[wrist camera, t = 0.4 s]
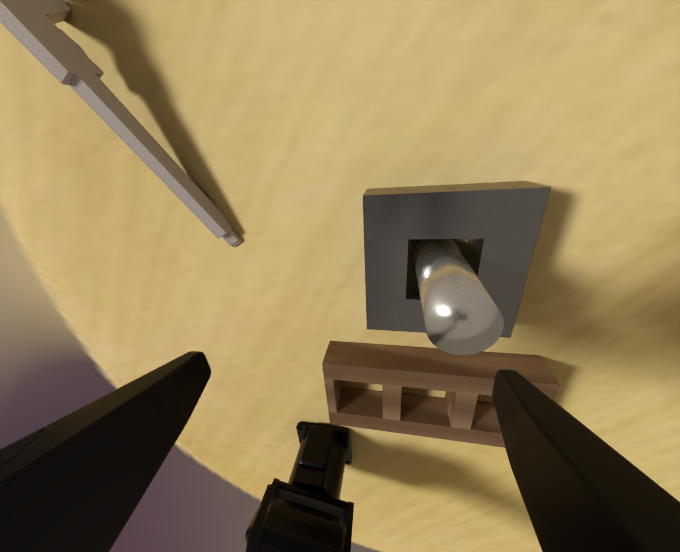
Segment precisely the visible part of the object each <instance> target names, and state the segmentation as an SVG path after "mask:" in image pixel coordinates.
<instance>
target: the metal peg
mask: <svg viewBox="0 0 680 552" xmlns="http://www.w3.org/2000/svg"><path fill="white" fill-rule="evenodd" d="M413 258H414V264H415V270H416V275H417V281H418V287H419V292H420V298H421V304H422V309H423V315H424V321H425V327H426V332H427V335H428V338H429V339H430V341H431V342H432V343H433V344H434V345H435V346H436V347H437V348H439V349H441V350H442V351H445V352H447V353H451V354H456V355H469V354H475V353H478V352H481V351H484V350H486V349H487V348H489V347H491V346H492V345H493V344H494V343H495V342H496V341H497V340H498V339H499V337H500V336H501V334H502V331H503V327H504V321H503V317H502V314H501V312H500V311H499V309H498V308H497V306H496V305H495V303H494V302H493V300H492V299H491V297H490V295H489V294H488V292H487V291H486V289H485V288H484V286H483V285H482V283H481V282H480V280H479V279H478V277H477V276H476V274H475V273H474V271H473V269H472V268H471V266H470V265H469V263H468V262H467V260H466V259H465V257H464V256H463V254H462V253H461V251H460V250H459V248H458V247H457V245H456V243H455V242H454V241H453V240H452V239H422V240H421V241H420V242H419V243H418V244H417V245H416V247H415V249H414V253H413Z"/></svg>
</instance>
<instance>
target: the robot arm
mask: <svg viewBox="0 0 680 552" xmlns="http://www.w3.org/2000/svg"><path fill="white" fill-rule="evenodd" d="M210 375H211V369H210V366H209V364H208V361H207V359H206V356H205V354H204V353H203V352H198V351H191V352H188V353H186V354H184V355H182V356H180V357H178V358H176V359H174V360H172V361H170V362H169V363H167V364H165V365H163V366H161V367H159V368H157V369H155V370H153V371H151V372H149V373H147V374H145V375H143V376H141V377H140V378H138V379H136V380H134V381H132V382H130V383H128V384H126V385H124V386H122V387H120V388H118V389H116V390H114V391H113V392H111V393H109V394H107V395H105V396H103V397H101V398H99V399H97V400H95V401H93V402H91V403H89V404H87V405H86V406H83V407H82V408H80V409H78V410H76V411H74V412H72V413H70V414H68V415H66V416H64V417H62V418H60V419H58V420H57V421H55V422H53V423H51V424H49V425H47V427H43V428H41V429H39V430H37V431H35V432H33V433H31V434H29V435H27V436H25V437H23V438H22V439H20V440H18V441H16V442H14V443H12V444H10V445H8V446H6V447H4V448H2V449H0V552H109V551H110V549H111V548H112V546H113V544H114V543H115V541H116V539H117V538H118V536H119V534H120V533H121V531H122V529H123V528H124V526H125V524H126V523H127V521H128V520H129V518H130V516H131V515H132V513H133V511H134V510H135V508H136V506H137V505H138V503H139V501H140V500H141V498H142V496H143V495H144V493H145V491H146V490H147V488H148V486H149V485H150V483H151V482H152V480H153V478H154V477H155V475H156V473H157V472H158V470H159V468H160V466H161V465H162V463H163V462H164V460H165V458H166V457H167V455H168V453H169V452H170V450H171V449H172V447H173V445H174V444H175V442H176V440H177V439H178V437H179V435H180V434H181V432H182V430H183V429H184V427H185V425H186V424H187V422H188V420H189V418H190V416H191V414H192V412H193V410H194V408H195V406H196V404H197V402H198V400H199V398H200V396H201V394H202V392H203V390H204V388H205V386H206V384H207V382H208V380H209V378H210ZM492 397H493V402H494V406H495V410H496V413H497V417H498V421H499V425H500V429H501V433H502V436H503V440H504V444H505V448H506V452H507V455H508V459H509V462H510V465H511V468H512V471H513V474H514V476H515V479H516V482H517V485H518V487H519V490H520V493H521V495H522V498H523V501H524V503H525V506H526V509H527V511H528V514H529V517H530V519H531V522H532V525H533V527H534V530H535V533H536V535H537V538H538V541H539V543H540V546H541V549H542V551H543V552H680V502H679V501H678V500H677V499H675V498H674V497H673V496H672V495H670V494H669V493H668V492H667V491H665V490H664V489H663V488H662V487H660V486H659V485H658V484H657V483H655V482H654V481H653V480H652V479H650V478H649V477H648V476H647V475H645V474H644V473H643V472H642V471H640V470H639V469H638V468H637V467H635V466H634V465H633V464H632V463H631V462H629V461H628V460H627V459H626V458H624V457H623V456H622V455H621V454H619V453H618V452H617V451H616V450H614V449H613V448H612V447H611V446H609V445H608V444H607V443H606V442H604V441H603V440H602V439H601V438H599V437H598V436H597V435H596V434H594V433H593V432H592V431H591V430H589V429H588V428H587V427H586V426H585V425H583V424H582V423H581V422H580V421H578V420H577V419H576V418H575V417H573V416H572V415H571V414H570V413H568V412H567V411H566V410H565V409H563V408H562V407H561V406H560V405H558V404H557V403H556V402H555V401H553V400H552V399H551V398H550V397H548V396H547V395H546V394H545V393H543V392H542V391H541V390H540V389H538V388H537V387H536V386H535V385H534V384H532V383H531V382H530V381H529V380H527V379H526V378H525V377H524V376H522V375H521V374H520V373H519V372H517V371H515V370H507V369H499V370H497V372H496V376H495V381H494V385H493V390H492ZM296 428H297V433H298V437H299V442H300V448H299V451H298V454H297V457H296V460H295V463H294V467H293V470H292V473H291V476H290V479H289V482H288V483H285V482H282V481H279V479H276V478H274V480H273V483H272V484H270V485H268V486H267V489H266V491H265V494H264V496H263V499H262V501H261V504H260V506H259V508H258V510H257V512H256V514H255V516H254V517H253V519H252V521H251V523H250V525H249V527H248V529H247V532H246V535H245V538H246V542H247V547H246V552H350V549H351V536H352V522H353V508H354V503H352V502H345V501H342V500H339V499H340V493H341V486H342V480H343V473H344V467H345V464H348V465H350V464H351V463H352V454H351V442H350V431H349V430H348V429H345V428H338V427H331V426H324V425H317V424H309V423H302V422H299V423H298V424H297V426H296Z"/></svg>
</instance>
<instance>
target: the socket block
mask: <svg viewBox="0 0 680 552" xmlns="http://www.w3.org/2000/svg"><path fill="white" fill-rule="evenodd" d="M550 189H551V187H549V186H544V185H540V184H536V183H532V182H527V181H516V182H496V183H476V184H456V185H436V186H415V187H395V188H375V189H367V190H366V192H365V193H364V194H363V217H364V249H365V282H366V314H367V329H374V330H391V331H407V332H424V333H427V332H426V327H425V321H424V315H423V309H422V304H421V298H420V292H419V287H418V281H417V280H407V259H408V239H469V243H468V249H467V256H466V260H467V262H468V263H469V265H470V266H471V268H472V269H473V271H474V273H475V274H476V276H477V277H478V279H479V280H480V282H481V283H482V285H483V286H484V288H485V289H486V291H487V292H488V294H489V295H490V297H491V299H492V300H493V302H494V303H495V305H496V306H497V308H498V309H499V311H500V312H501V314H502V317H503V321H504V327H503V331H502V334H501V336H500V337H508V338H511V334H512V330H513V327H514V323H515V319H516V315H517V312H518V308H519V304H520V301H521V297H522V293H523V289H524V286H525V282H526V278H527V274H528V271H529V267H530V263H531V260H532V256H533V252H534V248H535V245H536V241H537V237H538V234H539V230H540V226H541V222H542V219H543V215H544V211H545V207H546V204H547V200H548V196H549V193H550Z"/></svg>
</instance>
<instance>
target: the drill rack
mask: <svg viewBox="0 0 680 552" xmlns="http://www.w3.org/2000/svg"><path fill="white" fill-rule="evenodd" d="M322 365H323V373H324V380H325V388H326V395H327V403H328V411H329V418H330V424H337V425H344V426H351V427H359V428H366V429H373V430H381V431H388V432H395V433H403V434H410V435H417V436H425V437H432V438H439V439H446V440H454V441H461V442H468V443H476V444H483V445H490V446H498V447H505V444H504V440H503V436H502V433H501V429H500V425H499V421H498V417H497V413H496V410H495V406H494V403H485V402H477V398H478V394H481V395H491V396H492V390H493V385H494V381H495V376H496V372H497V370H499V369H507V370H515V371H517V372H519V373H520V374H521V375H522V376H524V377H525V378H526V379H527V380H529V381H530V382H531V383H532V384H534V385H535V386H536V387H537V388H538V389H540V390H541V391H542V392H543V393H545V394H546V395H547V396H548V397H550V398H551V399H552V400H553V399H554V397H555V395H556V392H557V390H558V387H559V383H558V382H557V380H556V379H555V378H554V376H553V375H552V373H551V372H550V371H549V369H548V368H547V366H546V365H545V363H544V362H543V361H542V359H541V358H540V356H535V355H521V354H506V353H492V352H478V353H475V354H469V355H456V354H451V353H447V352H445V351H442V350H441V349H436V348H422V347H407V346H393V345H379V344H365V343H351V342H337V341H330V342H329V345H328V348H327V351H326V354H325V357H324V360H323V363H322ZM342 380H343V381H352V382H362V383H372V384H382V385H383V392H381V391H372V390H363V389H353V388H344V387H342ZM402 387H412V388H422V389H431V390H441V391H446V395H445V398H438V397H428V396H419V395H410V394H401V390H402Z"/></svg>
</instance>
